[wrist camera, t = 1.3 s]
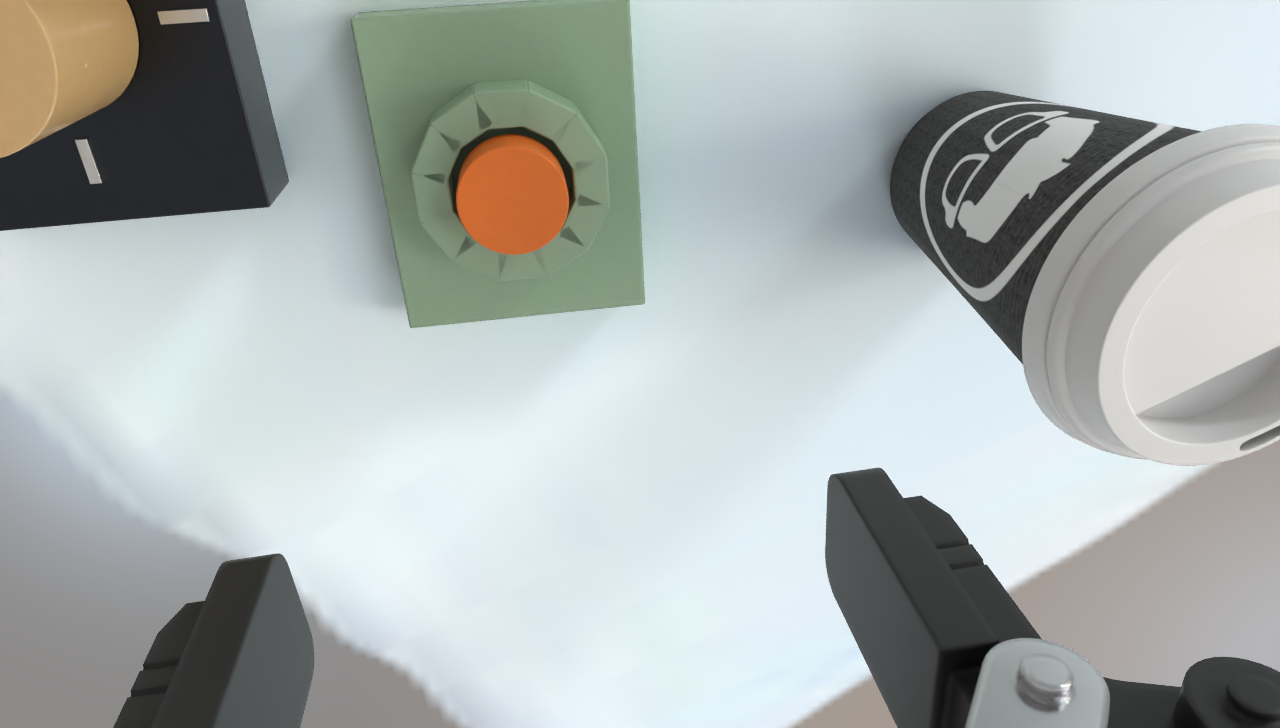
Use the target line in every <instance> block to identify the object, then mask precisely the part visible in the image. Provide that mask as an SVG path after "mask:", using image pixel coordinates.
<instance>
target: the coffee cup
mask: <svg viewBox="0 0 1280 728" xmlns="http://www.w3.org/2000/svg"><path fill="white" fill-rule="evenodd" d="M890 193H891V201H892V206H893V210H894V212H895V215H896V217H897V219H898V221H899V223H900V224H901V226H902V227H903V229H904V230H905V231H906V232H907V234H908V235H909V236H910V237H911V238H912V239H913V240H914V242H915V243H916V244H917V245H918V246H919V247H920V248H921V249H922V251H923V252H924V253H925V254H926V255H927V256H928V257H929V258H930V259H931V261H932V262H933V263H934V264H935V265H936V266H937V267H938V268H939V270H940V271H941V272H942V273H943V274H944V275H945V276H946V277H947V279H948V280H949V281H950V282H951V283H952V284H953V285H954V287H955V288H956V289H957V290H958V291H959V292H960V293H961V294H962V296H963V297H964V298H965V299H966V300H967V301H968V302H969V303H970V305H971V306H972V307H973V308H974V309H975V310H976V311H977V312H978V314H979V315H980V316H981V317H982V318H983V319H984V320H985V322H986V323H987V324H988V325H989V326H990V327H991V328H992V330H993V331H994V332H995V333H996V334H997V335H998V336H999V337H1000V339H1001V340H1002V341H1003V342H1004V343H1005V344H1006V346H1007V347H1008V348H1009V349H1010V350H1011V351H1012V352H1013V354H1014V355H1015V356H1016V357H1017V358H1018V359H1019V360H1020V362H1021V363H1022V364H1023V366H1024V372H1025V376H1026V380H1027V383H1028V386H1029V389H1030V391H1031V393H1032V396H1033V398H1034V399H1035V401H1036V403H1037V405H1038V406H1039V408H1040V409H1041V410H1042V412H1043V413H1044V414H1045V416H1046V417H1047V418H1048V419H1049V420H1050V421H1051V422H1052V423H1053V424H1054V425H1055V426H1057V427H1058V428H1059V429H1060V430H1062V431H1063V432H1065V433H1066V434H1068V435H1070V436H1071V437H1073V438H1075V439H1077V440H1079V441H1082V442H1084V443H1086V444H1088V445H1090V446H1092V447H1095V448H1097V449H1100V450H1103V451H1106V452H1110V453H1114V454H1118V455H1121V456H1126V457H1131V458H1138V459H1150V460H1153V461H1156V462H1160V463H1165V464H1171V465H1181V466H1196V465H1207V464H1213V463H1219V462H1223V461H1228V460H1231V459H1235V458H1238V457H1241V456H1244V455H1247V454H1249V453H1252V452H1255V451H1257V450H1259V449H1261V448H1264V447H1266V446H1268V445H1270V444H1272V443H1274V442H1276V441H1278V440H1279V439H1280V126H1274V125H1266V124H1240V125H1231V126H1224V127H1219V128H1214V129H1210V130H1206V131H1203V132H1201V131H1196V130H1191V129H1185V128H1180V127H1175V126H1169V125H1164V124H1159V123H1153V122H1148V121H1143V120H1138V119H1133V118H1127V117H1122V116H1117V115H1112V114H1107V113H1102V112H1097V111H1091V110H1086V109H1081V108H1076V107H1071V106H1066V105H1061V104H1056V103H1051V102H1046V101H1041V100H1035V99H1030V98H1025V97H1020V96H1015V95H1010V94H1005V93H1000V92H993V91H977V92H970V93H966V94H962V95H959V96H956V97H954V98H951V99H949V100H947V101H945V102H943V103H942V104H940V105H938V106H937V107H935V108H934V109H933V110H931V111H930V112H929V113H928V114H926V115H925V116H924V117H923V118H922V119H921V120H920V121H919V122H918V123H917V124H916V125H915V126H914V128H913V129H912V130H911V131H910V133H909V134H908V136H907V137H906V139H905V140H904V142H903V144H902V146H901V148H900V150H899V152H898V154H897V157H896V159H895V162H894V166H893V170H892V175H891V184H890Z"/></svg>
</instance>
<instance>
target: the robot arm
mask: <svg viewBox="0 0 1280 728" xmlns="http://www.w3.org/2000/svg"><path fill="white" fill-rule="evenodd" d="M825 559H826V568H827V574H828V578H829V582H830V586H831V589H832V592H833V594H834V597H835V599H836V601H837V603H838V605H839V607H840V609H841V611H842V613H843V615H844V617H845V619H846V622H847V624H848V626H849V628H850V630H851V632H852V634H853V636H854V638H855V640H856V642H857V644H858V646H859V648H860V651H861V653H862V655H863V657H864V659H865V661H866V663H867V665H868V667H869V669H870V671H871V673H872V675H873V677H874V680H875V682H876V684H877V686H878V688H879V690H880V692H881V694H882V696H883V698H884V700H885V702H886V704H887V706H888V709H889V711H890V713H891V715H892V717H893V719H894V721H895V723H896V725H897V727H898V728H1280V672H1278V671H1276V670H1274V669H1272V668H1270V667H1267V666H1264V665H1262V664H1259V663H1256V662H1253V661H1249V660H1245V659H1240V658H1232V657H1213V658H1208V659H1204V660H1202V661H1199V662H1197V663H1195V664H1194V665H1193V666H1191V667H1190V668H1189V670H1188V671H1187V672H1186V675H1185V677H1184V680H1183V683H1182V686H1181V687H1174V686H1165V685H1155V684H1145V683H1136V682H1126V681H1118V680H1113V679H1109V678H1105V677H1102V675H1101V674H1100V673H1099V671H1098V670H1097V669H1096V668H1095V667H1094V666H1093V665H1092V664H1091V663H1090V662H1089V661H1087V660H1086V659H1085V658H1084V657H1082V656H1081V655H1079V654H1078V653H1076V652H1074V651H1073V650H1070V649H1069V648H1067V647H1064V646H1062V645H1059V644H1057V643H1054V642H1050V641H1046V640H1042V639H1041V638H1040V636H1039V635H1038V633H1037V632H1036V631H1035V629H1034V628H1033V627H1032V625H1031V624H1030V623H1029V621H1028V620H1027V619H1026V617H1025V616H1024V615H1023V613H1022V612H1021V611H1020V609H1019V608H1018V606H1017V605H1016V604H1015V602H1014V601H1013V600H1012V598H1011V597H1010V596H1009V594H1008V593H1007V591H1006V590H1005V589H1004V587H1003V586H1002V585H1001V583H1000V582H999V581H998V579H997V578H996V577H995V575H994V574H993V572H992V571H991V570H990V568H989V567H988V566H987V565H984V563H983V559H982V558H981V556H980V555H979V554H978V552H977V551H976V549H975V548H974V547H973V545H972V544H970V545H969V543H968V539H967V537H966V536H965V535H964V533H963V532H962V530H961V529H960V528H959V526H958V525H957V524H956V522H955V521H954V520H953V518H952V517H951V516H950V515H949V514H948V513H946V512H945V511H943V510H942V509H940V508H939V507H937V506H936V505H934V504H933V503H931V502H930V501H928V500H927V499H925V498H924V497H922V496H916V497H909V498H903V497H902V496H901V494H900V493H899V492H898V490H897V489H896V487H895V486H894V484H893V483H892V481H891V480H890V478H889V477H888V475H887V474H886V473H885V471H884V470H883V469H881V468H873V469H866V470H859V471H853V472H846V473H839V474H832V475H831V476H830V478H829V481H828V489H827V518H826V546H825ZM143 667H144V669H143V671H140V672H139V674H138V677H137V679H136V681H135V683H134V685H133V687H132V689H131V697H129V698H127V700H126V702H125V704H124V706H123V708H122V710H121V713H120V715H119V717H118V719H117V721H116V723H115V725H114V727H113V728H300V725H301V721H302V717H303V713H304V709H305V705H306V701H307V697H308V693H309V689H310V685H311V680H312V676H313V670H314V647H313V639H312V635H311V631H310V628H309V625H308V622H307V619H306V616H305V613H304V610H303V607H302V604H301V601H300V598H299V595H298V593H297V590H296V587H295V584H294V581H293V578H292V575H291V572H290V569H289V566H288V564H287V561H286V560H285V558H284V557H283V555H281V554H279V553H278V554H271V555H264V556H258V557H251V558H244V559H237V560H230V561H225V562H223V563H222V564H221V566H220V567H219V570H218V572H217V574H216V576H215V579H214V581H213V583H212V586H211V588H210V590H209V593H208V595H207V598H206V600H205V601H201V602H195V603H188V604H186V605H185V606H184V607H183V608H182V609H181V610H180V611H179V612H178V613H177V614H176V615H175V616H174V617H173V618H172V619H171V620H170V621H169V622H168V623H167V624H166V625H165V627H164V628H163V629H162V630H161V631H160V632H159V633H158V634H157V636H156V639H155V641H154V643H153V645H152V647H151V649H150V651H149V653H148V655H147V658H146V660H145V662H144V664H143Z"/></svg>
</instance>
